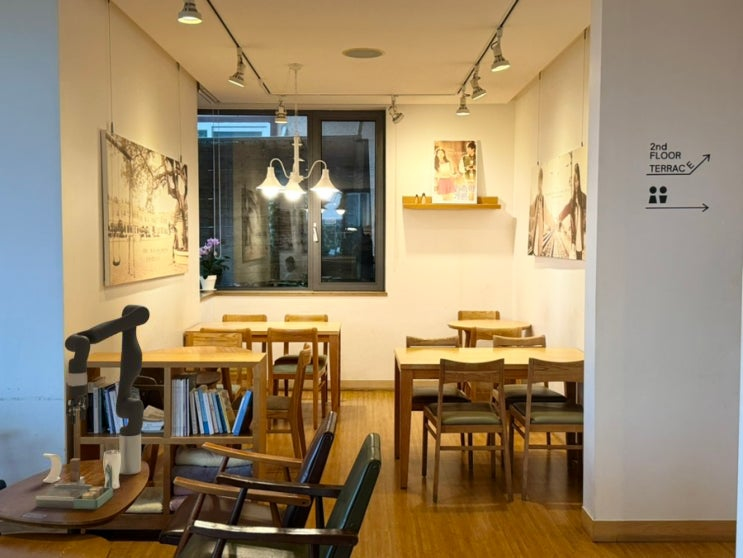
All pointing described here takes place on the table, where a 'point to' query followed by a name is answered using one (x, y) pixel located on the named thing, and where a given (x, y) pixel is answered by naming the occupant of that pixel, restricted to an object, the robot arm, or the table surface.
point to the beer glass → (112, 468)
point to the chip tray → (94, 503)
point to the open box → (62, 496)
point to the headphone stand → (54, 468)
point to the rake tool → (75, 472)
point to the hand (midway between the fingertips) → (77, 421)
